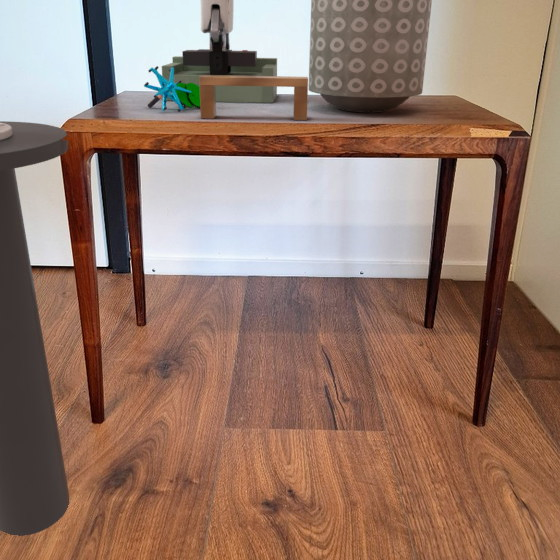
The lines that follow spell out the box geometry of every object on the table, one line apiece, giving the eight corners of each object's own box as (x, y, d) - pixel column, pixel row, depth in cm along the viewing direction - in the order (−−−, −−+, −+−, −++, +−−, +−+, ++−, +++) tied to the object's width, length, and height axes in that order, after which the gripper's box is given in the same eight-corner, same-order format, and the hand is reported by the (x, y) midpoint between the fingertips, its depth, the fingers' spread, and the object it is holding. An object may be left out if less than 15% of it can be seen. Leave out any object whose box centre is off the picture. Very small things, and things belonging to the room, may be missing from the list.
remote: (183, 65, 107) (182, 50, 106) (187, 63, 111) (186, 48, 110) (255, 66, 107) (255, 51, 106) (256, 64, 111) (256, 49, 110)
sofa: (272, 103, 108) (273, 61, 105) (163, 100, 108) (161, 59, 106) (276, 95, 118) (277, 58, 115) (177, 93, 119) (175, 56, 116)
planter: (430, 118, 93) (445, -11, 86) (309, 116, 93) (313, -13, 86) (409, 103, 110) (419, -6, 103) (306, 101, 111) (310, -8, 103)
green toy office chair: (157, 99, 91) (147, 55, 93) (132, 122, 96) (123, 79, 97) (216, 115, 100) (206, 74, 102) (191, 135, 104) (182, 96, 106)
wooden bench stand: (200, 118, 90) (199, 76, 87) (203, 115, 93) (202, 75, 90) (306, 120, 90) (308, 78, 87) (306, 117, 92) (307, 76, 90)
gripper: (202, -34, 110) (206, 70, 117) (187, -43, 95) (193, 78, 102) (243, -34, 110) (244, 70, 117) (235, -42, 94) (236, 78, 102)
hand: (220, 72), depth 110 cm, fingers closed on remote, 5 cm apart
